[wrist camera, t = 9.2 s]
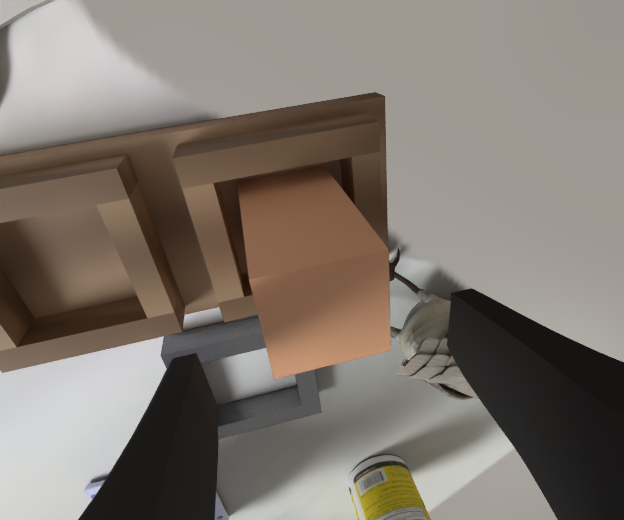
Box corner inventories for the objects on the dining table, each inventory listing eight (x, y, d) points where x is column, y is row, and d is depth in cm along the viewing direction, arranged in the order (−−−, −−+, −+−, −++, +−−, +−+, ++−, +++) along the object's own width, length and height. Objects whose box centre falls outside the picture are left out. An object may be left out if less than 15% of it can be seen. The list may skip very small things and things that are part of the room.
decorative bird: (497, 371, 31) (568, 459, 24) (332, 305, 24) (372, 403, 18) (546, 321, 29) (638, 402, 23) (383, 234, 22) (449, 316, 16)
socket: (316, 393, 27) (321, 412, 26) (202, 422, 26) (201, 443, 25) (301, 304, 23) (306, 321, 22) (164, 335, 22) (160, 355, 21)
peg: (332, 241, 20) (390, 350, 13) (254, 257, 19) (274, 379, 13) (324, 165, 18) (388, 249, 11) (236, 181, 17) (249, 279, 11)
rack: (380, 258, 23) (402, 289, 20) (16, 338, 20) (-15, 385, 18) (375, 92, 18) (403, 103, 15) (-102, 173, 16) (-169, 203, 13)
